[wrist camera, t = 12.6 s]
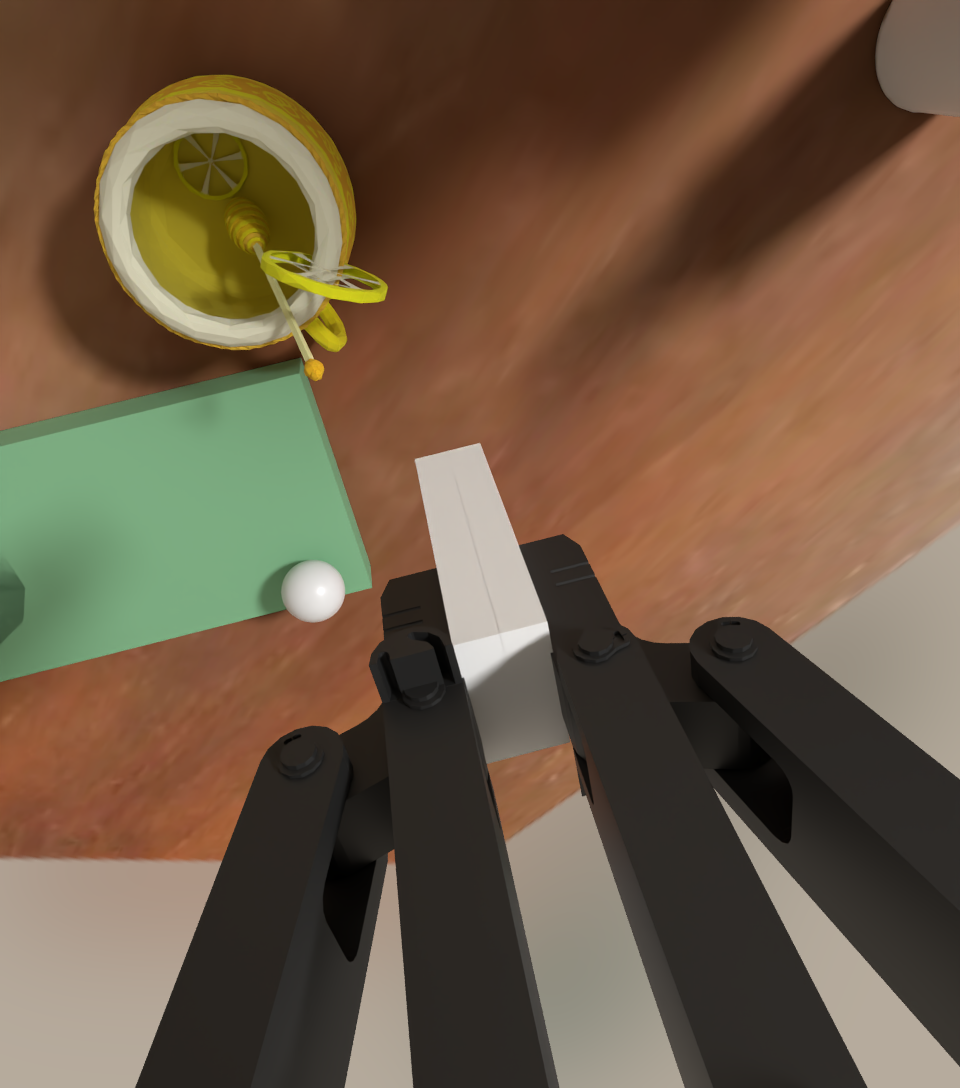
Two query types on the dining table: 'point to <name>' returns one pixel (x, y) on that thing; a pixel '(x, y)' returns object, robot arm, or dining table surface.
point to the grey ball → (313, 591)
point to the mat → (165, 516)
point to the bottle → (921, 56)
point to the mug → (231, 217)
